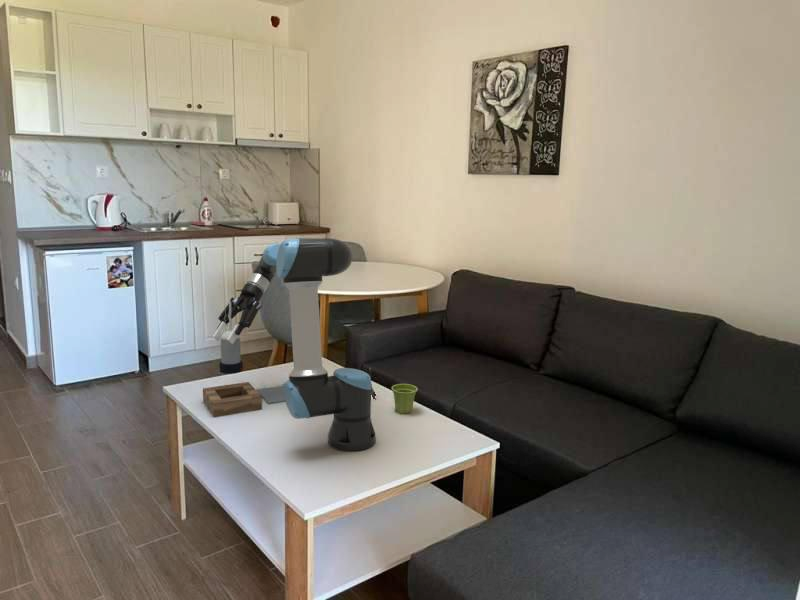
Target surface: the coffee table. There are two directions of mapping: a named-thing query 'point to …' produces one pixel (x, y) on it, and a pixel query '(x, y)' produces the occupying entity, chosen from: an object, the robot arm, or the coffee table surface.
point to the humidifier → (230, 351)
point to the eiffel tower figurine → (371, 386)
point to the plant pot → (404, 397)
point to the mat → (272, 394)
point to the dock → (232, 399)
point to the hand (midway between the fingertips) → (222, 340)
